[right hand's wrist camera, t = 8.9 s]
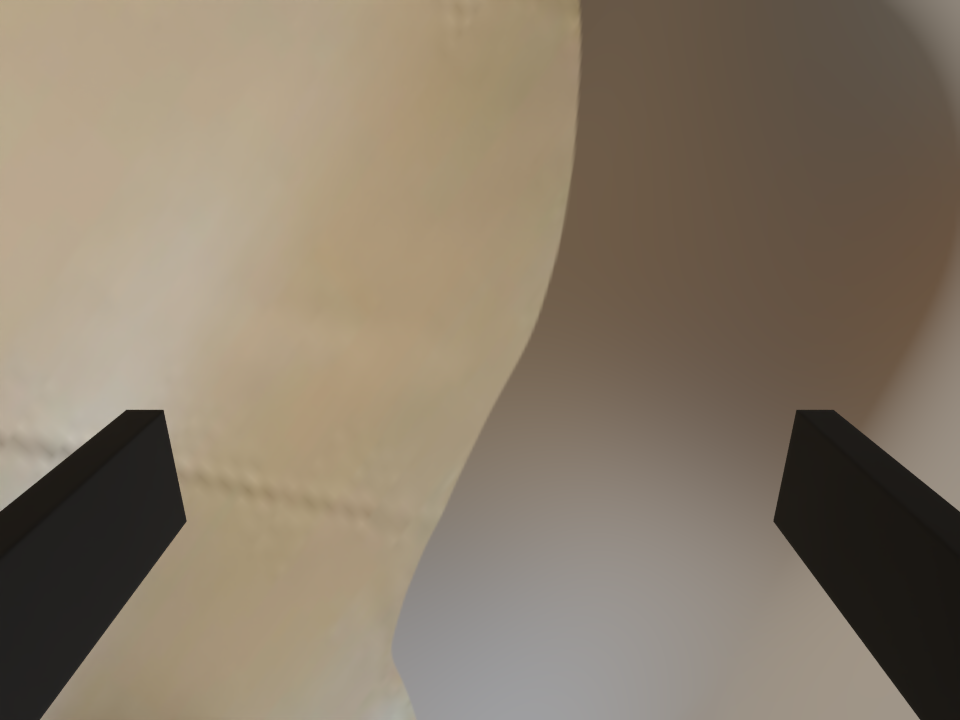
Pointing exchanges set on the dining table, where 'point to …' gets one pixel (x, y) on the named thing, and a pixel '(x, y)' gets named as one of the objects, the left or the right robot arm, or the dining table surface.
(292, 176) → the dining table surface
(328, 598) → the dining table surface
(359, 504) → the dining table surface
